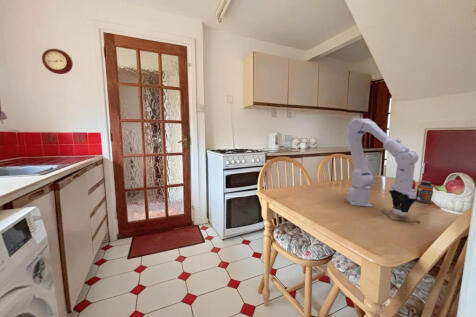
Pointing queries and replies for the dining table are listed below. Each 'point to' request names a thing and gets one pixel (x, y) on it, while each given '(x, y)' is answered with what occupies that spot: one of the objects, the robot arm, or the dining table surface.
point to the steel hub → (399, 212)
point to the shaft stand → (393, 217)
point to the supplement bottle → (424, 192)
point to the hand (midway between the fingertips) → (400, 209)
